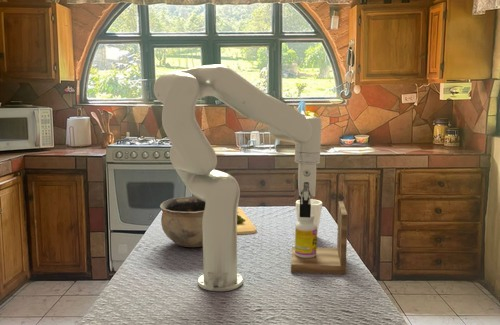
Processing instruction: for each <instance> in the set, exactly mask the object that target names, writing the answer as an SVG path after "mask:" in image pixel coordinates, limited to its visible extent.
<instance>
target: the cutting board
mask: <svg viewBox="0 0 500 325" xmlns="http://www.w3.org/2000/svg"><path fill="white" fill-rule="evenodd" d="M257 232H258V231H257V227H256V226H255V225H254V224H253V222H252V221H251V219H250V218H249V216H247V214H246V213H245V212H244V211H243V208H239V207H238V209H237V236H239V235H251V234H253V235H254V234H256V233H257Z"/></svg>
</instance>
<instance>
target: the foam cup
mask: <svg viewBox="0 0 500 325" xmlns="http://www.w3.org/2000/svg"><path fill="white" fill-rule="evenodd" d="M310 204H311V213H310V214H313V215H314V220H313V222H314V223H315V224H316V225H317V236H319V228H320V227H319V226H320V222H321V214H322V210H323V201H321V200H318V199H313V198H310ZM295 211H296V218H297V223H298V222H299V214H300V199H298V200H296V201H295Z"/></svg>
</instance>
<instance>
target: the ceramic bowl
mask: <svg viewBox="0 0 500 325" xmlns="http://www.w3.org/2000/svg"><path fill="white" fill-rule="evenodd" d="M159 207H160V210H161V212H162V214H161V220H160V222H161V229H162V230H163V233H164V234H165V235H166V237H167V238H168V239H169V240H171V241H172V242H173V243H174V244H176V245H178V246H181V247H185V248H200V247H201V248H203V230H202V219H203V213H204V209H205V202H204V201H202V200H200V199H198V198H196V197H195V196H194V195H192V196H181V197H175V198H169V199H168V200H165V201H162V203H160V205H159Z"/></svg>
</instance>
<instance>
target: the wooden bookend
mask: <svg viewBox="0 0 500 325" xmlns="http://www.w3.org/2000/svg"><path fill="white" fill-rule="evenodd" d="M345 206H346V205H345V203H344V201H341V200H340V201H338V202H337V237H336V239H337V241H336V242H337V243H336V245H337V246H336V247H317V250H316V256H315V257H312V258H301V257H298V256H296V255H295V246H292V247H291V259H290V272H291V273H304V274H326V275H327V274H333V275H346V274H347V273H346V271H347V240H348V212H347V208H346V207H345Z"/></svg>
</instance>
